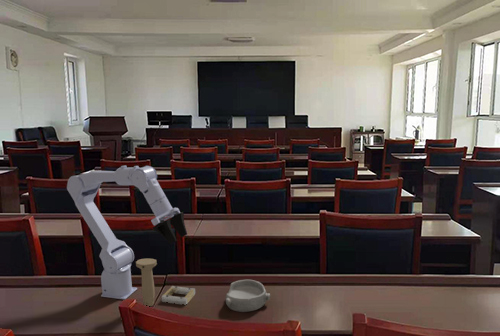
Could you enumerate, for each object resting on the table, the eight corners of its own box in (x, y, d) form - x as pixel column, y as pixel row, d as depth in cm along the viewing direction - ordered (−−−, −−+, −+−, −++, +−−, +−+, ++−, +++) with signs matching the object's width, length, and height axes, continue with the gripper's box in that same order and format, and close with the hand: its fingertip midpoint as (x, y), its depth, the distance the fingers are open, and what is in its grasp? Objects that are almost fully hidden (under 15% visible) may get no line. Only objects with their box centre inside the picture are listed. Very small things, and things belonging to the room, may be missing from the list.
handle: (155, 309, 131) (152, 265, 128) (136, 308, 132) (133, 264, 129) (161, 301, 135) (158, 258, 133) (142, 300, 136) (139, 258, 134)
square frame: (162, 301, 135) (161, 295, 135) (172, 291, 143) (172, 285, 142) (186, 305, 133) (185, 298, 133) (195, 293, 140) (195, 288, 140)
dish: (227, 316, 126) (226, 301, 125) (222, 294, 140) (222, 281, 139) (273, 311, 128) (272, 296, 128) (264, 290, 142) (264, 277, 141)
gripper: (156, 199, 121) (178, 240, 120) (178, 191, 135) (198, 227, 134) (138, 210, 123) (160, 250, 122) (161, 201, 137) (181, 237, 136)
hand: (179, 239), depth 128 cm, fingers open, 7 cm apart
